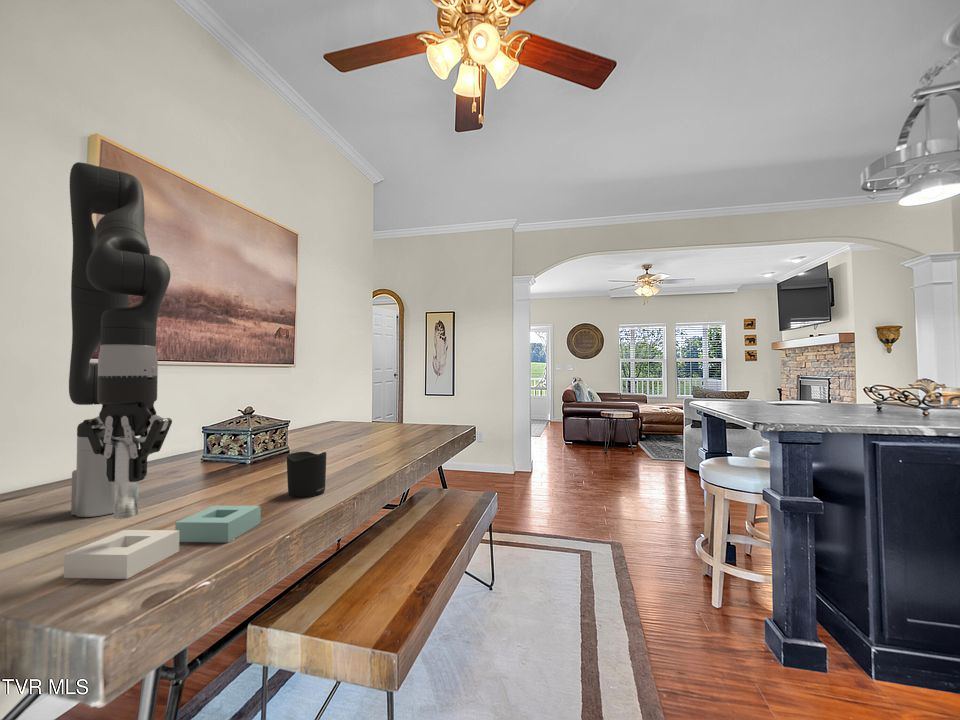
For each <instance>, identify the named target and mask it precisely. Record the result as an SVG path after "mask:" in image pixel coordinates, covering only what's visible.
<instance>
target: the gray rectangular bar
mask: <svg viewBox="0 0 960 720" xmlns="http://www.w3.org/2000/svg"><path fill="white" fill-rule="evenodd" d="M129 459H133V458H131V456H130V449H129V445H127V444H126V442H125V440H122V441H116V442H115V482H114V513H113V519H116V520H122V519H129V518H132V517H136V516H138V514H139V485H140V484H139V482H140V481H137V482H130V481H129Z"/></svg>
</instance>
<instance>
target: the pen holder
mask: <svg viewBox="0 0 960 720" xmlns="http://www.w3.org/2000/svg"><path fill="white" fill-rule="evenodd" d="M326 471H327V452H326V451H323V452H321V453H313V452H310V451H296V452H292V453H288V454H286V474H287V475H286V476H287V477H286V478H287V494H288V496H289V497H290V498H294V499H303V498H307V499H308V498H311V497H317V496H319V495H322V494H324V492H325V491H326V477H327V476H326V474H327V472H326Z"/></svg>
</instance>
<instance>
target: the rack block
mask: <svg viewBox="0 0 960 720" xmlns="http://www.w3.org/2000/svg"><path fill="white" fill-rule="evenodd" d="M261 509H262V508H261V505H212V506H209V507H207V508H204V509H203V510H200V511H198V512H196V513H194V514H191V515H188V516H187V517H184V518H182V519H180V520H177V521H175V522H174V523H175V526H174V527H175V530H179V543H230V542H231V541H233V540H235V539H236V538H238V537H239V536H242V535H243V534H245V533H246V532H248V531H250V530H252V529H253V528H255V527H257V526H258V525H260V524H261V522H262V521H261V519H262V517H261V513H262V511H261Z"/></svg>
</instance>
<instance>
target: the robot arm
mask: <svg viewBox="0 0 960 720" xmlns="http://www.w3.org/2000/svg"><path fill="white" fill-rule="evenodd" d="M144 198H145V196H144V190H143V187H142V183H141V181H140V180H139V179H138V178H137V177H136V176H134V175H132V174H129V173H127V172H124V171H120V170H116V169H111V168H106V167H103V166H99V165H98V166H97V165H95V164H92V163H91V164H90V163H85V162H78V161H77V162H75V163H74V164H73V165H71V169H70V172H69V199H70V213H71V214H70V216H71V229H72V230H71V231H72V260H71V264H72V265H71V280H70V284H71V285H70V288H71V289H70V304H71V307H70V308H71V325H72V327H71V329H72V330H71V331H72V333H71V335H72V337H71V338H72V339H71V349H70V350H71V351H70V352H71V353H70V362H69V364H70V365H69V374H68V394H69V395H68V396H69V398H70V401H71V402H72V403H73V404H74V405H77V406H78V405H80V406H83V405H84V406H89V405H91V406H92V405H101V409H100V412H99V415H98V416H95V417H93V418H89V419H84V420H83V421H82V422H80V423H79V424H78V425H77V427H76V469H75V470H73V471H72V473H71V500H70V501H71V504H70V505H71V509H70V511H71V512H70V515H71V516H72V515H74V516H75V517H77V518H88V517H89V518H91V517H100V516H105V515H110V514H111V515H112V514H114V482H115V442H116V441H122V440H125V442H126V444H127V445H129V449H130V456H131V458H133V459H129V481H130V482H137V481H139V482H140V481H143V480H144V479H145V477H146V476H147V474H148V457H149V455H152V454H154V453H155V454H156V453H159V452H160V451H161V449H162V447H163V444H164V442H165V440H166V437H167V435H168V433H169V432H170V431H169V430H170V428H171V426H172V424H173V420H172V418H170V417H166V418H165V417H161V416H160V415H158V414H157V411H156V409H155V406H154V405H155V402H156V401H158V376H159V375H158V370H159V369H158V368H159V367H158V365H159V362H158V353H157V324H158V318H159V317H158V316H159V312H160V309H161V305H162V302H163V299H164V297H165V295H166V292H167V290H168V287H169V283H170V281H171V270H170V267H169V265H168V264H167V262H166V261H165V260H164V259H163V258H161V257H160V256H157V255H152V254H151V249H150V246H149V242H148V240H147V236H146V232H145V221H146V219H145V216H146V215H145V199H144ZM93 214H96V215H102V217H101V218H100V219H99V220H98V222H97V223H96V226H95V224H94V221H93V216H92V215H93ZM130 296H134V297H135V296H136V297H142V299H141V302H140V303H139V304H137V305H134V306H130V307H129V301H130V300H129V297H130ZM99 345H100V347H99V354H98V359H97V363H90V362H91V359H92V356H93V354H94V352H95V350H96V349H97V348H98V346H99Z"/></svg>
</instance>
